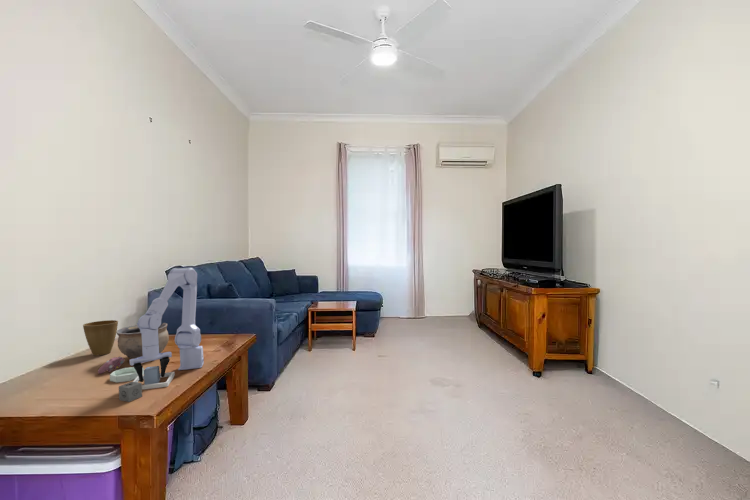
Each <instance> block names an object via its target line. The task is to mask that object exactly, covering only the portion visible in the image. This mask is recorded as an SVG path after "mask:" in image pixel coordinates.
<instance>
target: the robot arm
mask: <svg viewBox="0 0 750 500" xmlns="http://www.w3.org/2000/svg"><path fill="white" fill-rule="evenodd" d="M166 281H167V282H166V284H165V285H164V287H163V288H162V291H161V293H160V295H159V297H157V298H154V299H153V300H152V301H151V304H150V305H149V307H148V309H147V310H146V312H145V314H142V315H141V316H140V317H138V321H137V322H136V325H137V326H138V328H139V329H140V333H141V334H142V353H143V356H142V357H138V358H135V359H132V358H130V359H129V365H130V366H131V367H134V368H135V370H136V372H137V374H138V376H139V383H144V380H143V375H144V374H143V375H142V370H143V368H144V366H143V365H142V364H143V363H148V362H151V361H152V362H153V361H157V360H159V363H160V364H159V366H160V373H161V376H162V377H161V378H165V377H164V376H165V373H166V370H167V368H168V365H169V363H170V360H171V359H170V358H172V356H173V355H172V354H173V353H172V351H166V352H161V353H159V341H158V328H159V326H161V325H162V319H163V315H164V313H165V312H166V309H167V308H168V306H169V302H168V300H169V299H170V298H171V297H172V295H173V294H174V292H175V291H176V289H177V288H178V287H180V288H181V289H182V290H183V294H182V309H181V312H182V313H181V325H180V326H179V327H178V328H177V329H176V334H175V336H174V343H175V345H177V348H178V349H179V363H180V364H179V367H178V369H177V371H182V370H185V371H186V370H192V369H201V368H202V367H203V365H204V363H205V361H204V360H205V359H204V348H203V345H200V344H201V342H202V335H201V329H200V328H199V327H198V326H197V325H196V312H197V295H198V293H197V292H198V284H197V283H198V272H197V271H196V270H195V268H193V267H188V268H187V267H186V268H181V267H180V268H177V267H174V268H172V269H170V271H169V273H168V274H167V280H166Z"/></svg>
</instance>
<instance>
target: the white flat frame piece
mask: <svg viewBox="0 0 750 500" xmlns="http://www.w3.org/2000/svg"><path fill="white" fill-rule="evenodd" d="M175 374H176V373H175V371H170V372H165V376H164V377H162V376H161V372H160V379H162V378H167V377H168V378H167V380H166V381H165V382H159V383H155V384H147V385H145V384H142V391H143V390H151V389H158V388H165V387H166V388H167V387H169V385H170V384H171V382H172V380H173V379H174V377H175ZM143 381H144V374H143ZM132 382H138V383H139V382H140V380H139V376H137V377H136V379H134V380H132Z"/></svg>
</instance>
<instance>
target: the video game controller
mask: <svg viewBox="0 0 750 500" xmlns="http://www.w3.org/2000/svg"><path fill="white" fill-rule="evenodd" d="M124 363H125V358H124V357H121V356H117V357H116V356H114V357H111V358H110V359H108V360H106V362H104V363H103V364H102V365H101V366H100V367H98V368H99V369H98V370H97V374H99V375H100V374H101V375H102V374H104V373H105V372H108V373H112V372H113V371H117V370H119V368H120V366H122V365H123V364H124Z"/></svg>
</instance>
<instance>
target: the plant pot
mask: <svg viewBox="0 0 750 500" xmlns="http://www.w3.org/2000/svg"><path fill="white" fill-rule="evenodd" d="M118 325H119V321H118V320H116V319H115V320H113V319H111V320H98V321H91V322H87V323H84V324H82V329H83V333H84V336H85V339H86V342H87V345H88V347H89V350H90V351H91V353H92V355H93V356H96V357H97V356H104V355H109V354H110V353H111V351H112V349H113V346H114V344H115V340H116V337H117V333H116V332H117V331H118Z"/></svg>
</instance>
